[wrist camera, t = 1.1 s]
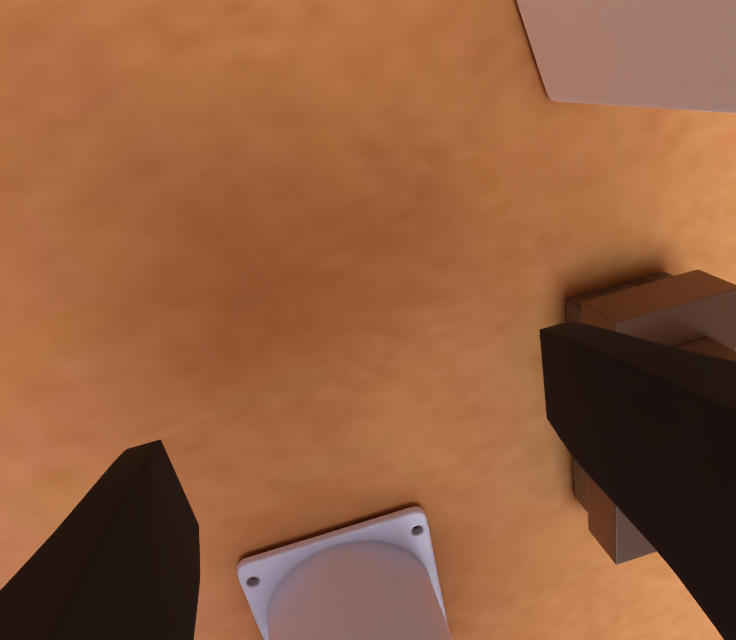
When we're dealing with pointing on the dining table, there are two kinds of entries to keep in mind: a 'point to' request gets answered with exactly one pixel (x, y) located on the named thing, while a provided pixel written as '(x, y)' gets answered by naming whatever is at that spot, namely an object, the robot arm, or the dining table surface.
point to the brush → (662, 325)
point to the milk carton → (636, 52)
